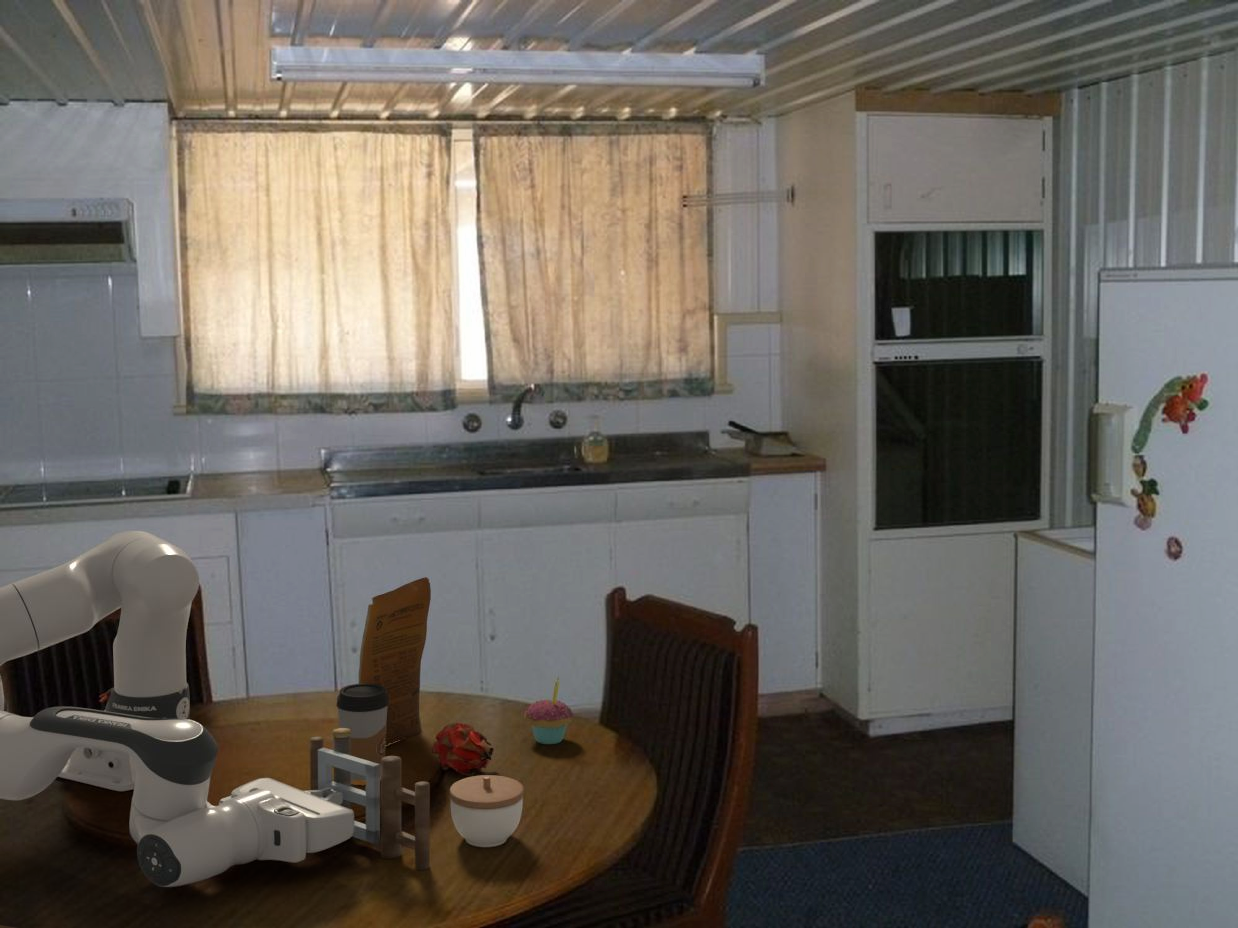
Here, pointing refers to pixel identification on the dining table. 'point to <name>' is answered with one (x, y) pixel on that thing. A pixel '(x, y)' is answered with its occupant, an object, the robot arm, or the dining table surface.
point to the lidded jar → (486, 808)
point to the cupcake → (549, 719)
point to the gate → (354, 789)
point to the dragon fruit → (462, 748)
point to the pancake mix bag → (397, 653)
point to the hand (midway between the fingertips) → (336, 794)
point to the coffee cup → (364, 721)
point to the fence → (386, 801)
